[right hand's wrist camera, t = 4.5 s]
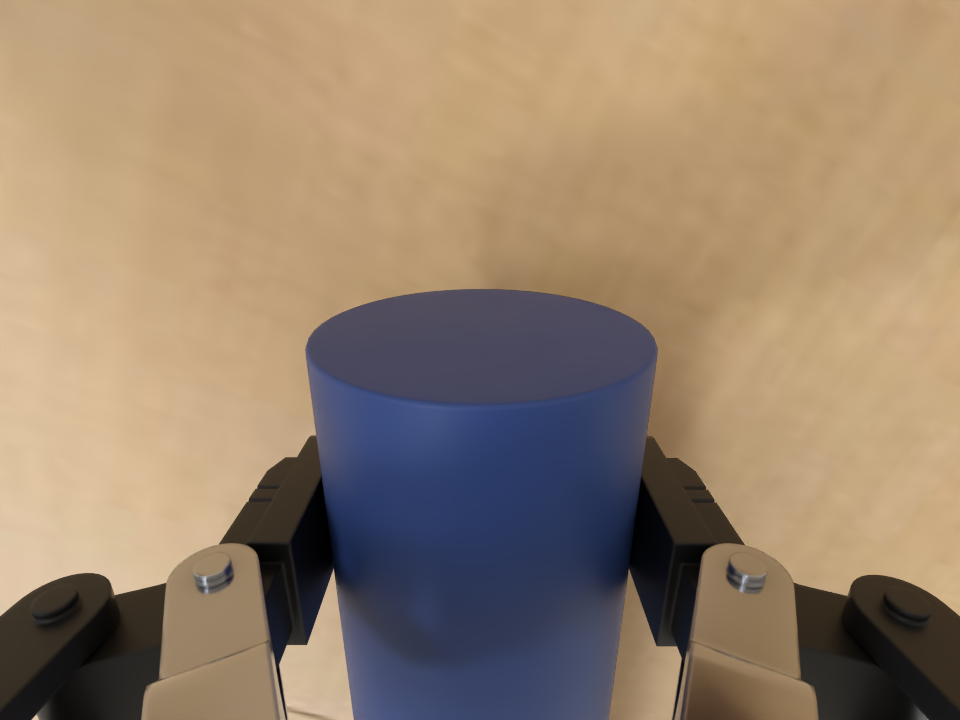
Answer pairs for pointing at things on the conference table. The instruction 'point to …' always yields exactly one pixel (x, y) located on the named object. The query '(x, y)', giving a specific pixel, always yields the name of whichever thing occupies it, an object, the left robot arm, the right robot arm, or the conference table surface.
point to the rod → (481, 498)
